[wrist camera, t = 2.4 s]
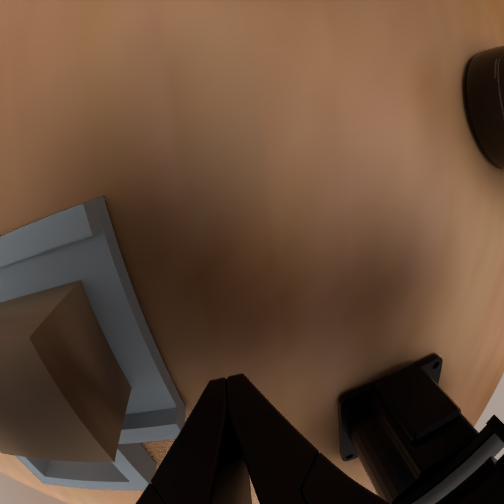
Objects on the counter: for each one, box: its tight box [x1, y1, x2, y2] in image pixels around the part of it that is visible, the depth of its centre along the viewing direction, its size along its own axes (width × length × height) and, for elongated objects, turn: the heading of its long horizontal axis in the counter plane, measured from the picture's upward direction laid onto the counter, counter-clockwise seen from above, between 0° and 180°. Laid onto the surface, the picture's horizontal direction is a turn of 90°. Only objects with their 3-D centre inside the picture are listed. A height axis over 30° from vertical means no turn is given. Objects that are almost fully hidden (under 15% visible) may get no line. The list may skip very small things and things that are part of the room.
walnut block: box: [0, 280, 132, 462], centre depth 8 cm, size 5×6×4 cm
